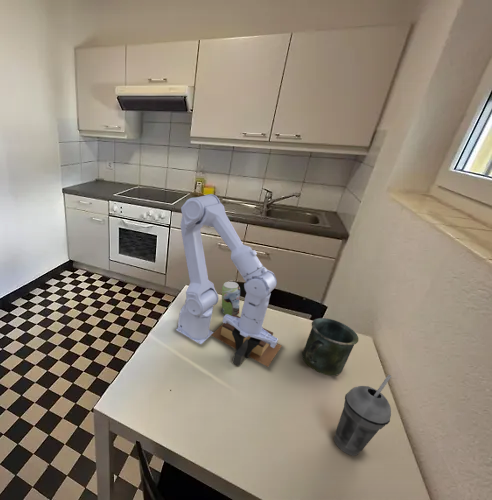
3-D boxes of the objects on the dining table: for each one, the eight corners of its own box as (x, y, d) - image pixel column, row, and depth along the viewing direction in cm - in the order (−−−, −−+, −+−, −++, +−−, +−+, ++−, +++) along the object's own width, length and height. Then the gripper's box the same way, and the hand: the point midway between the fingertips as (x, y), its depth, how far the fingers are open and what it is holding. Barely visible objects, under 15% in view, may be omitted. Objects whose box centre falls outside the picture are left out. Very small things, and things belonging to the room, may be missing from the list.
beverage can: (239, 320, 98) (246, 290, 93) (217, 316, 99) (223, 287, 94) (237, 309, 103) (243, 281, 98) (217, 306, 104) (222, 278, 100)
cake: (220, 334, 89) (222, 324, 87) (231, 323, 94) (233, 313, 93) (242, 346, 84) (245, 336, 83) (253, 334, 90) (255, 324, 88)
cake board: (210, 336, 89) (210, 335, 88) (227, 320, 97) (228, 318, 97) (267, 368, 78) (267, 366, 78) (281, 347, 86) (281, 345, 86)
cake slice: (249, 350, 83) (252, 339, 82) (259, 337, 89) (262, 327, 87) (260, 356, 81) (263, 345, 80) (270, 342, 87) (273, 332, 85)
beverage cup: (319, 428, 63) (350, 361, 55) (349, 426, 63) (384, 360, 55) (343, 464, 56) (383, 393, 48) (376, 462, 57) (421, 392, 49)
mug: (351, 370, 79) (367, 337, 74) (320, 388, 73) (335, 353, 68) (314, 345, 88) (327, 314, 83) (284, 359, 81) (295, 326, 76)
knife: (232, 362, 77) (234, 353, 76) (257, 332, 90) (259, 323, 89) (239, 366, 76) (241, 357, 75) (263, 335, 89) (266, 326, 87)
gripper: (221, 308, 75) (213, 347, 81) (276, 334, 67) (263, 376, 72) (232, 298, 80) (224, 335, 86) (285, 321, 71) (272, 361, 77)
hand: (242, 353), depth 79 cm, fingers closed on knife, 2 cm apart
